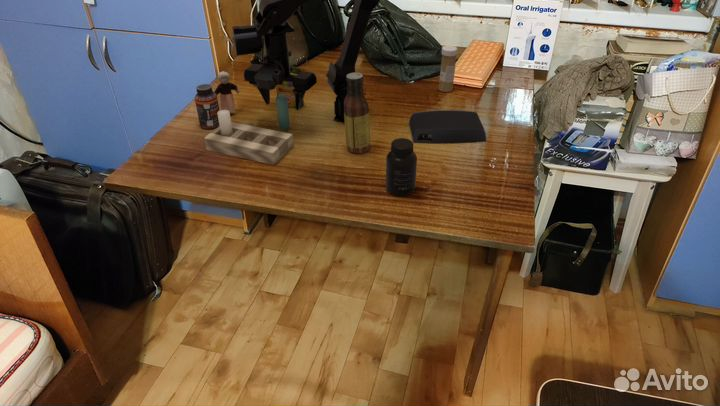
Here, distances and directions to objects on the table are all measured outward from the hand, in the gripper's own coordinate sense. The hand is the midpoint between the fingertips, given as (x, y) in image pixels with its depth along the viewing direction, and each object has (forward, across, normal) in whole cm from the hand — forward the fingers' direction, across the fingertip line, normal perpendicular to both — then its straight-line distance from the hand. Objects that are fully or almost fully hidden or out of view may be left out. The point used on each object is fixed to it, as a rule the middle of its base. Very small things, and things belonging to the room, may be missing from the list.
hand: (282, 106), depth 141 cm
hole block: (+6, -3, -13) cm, 15 cm away
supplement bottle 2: (+6, +39, -16) cm, 43 cm away
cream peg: (+6, -10, -13) cm, 17 cm away
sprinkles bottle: (+7, +35, +40) cm, 53 cm away
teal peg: (+6, 0, 0) cm, 6 cm away
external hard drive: (+7, +42, +14) cm, 45 cm away
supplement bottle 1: (+6, -20, -6) cm, 22 cm away
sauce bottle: (+6, +23, -3) cm, 24 cm away
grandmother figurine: (+6, -19, +2) cm, 20 cm away
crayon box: (+6, -5, +13) cm, 15 cm away
